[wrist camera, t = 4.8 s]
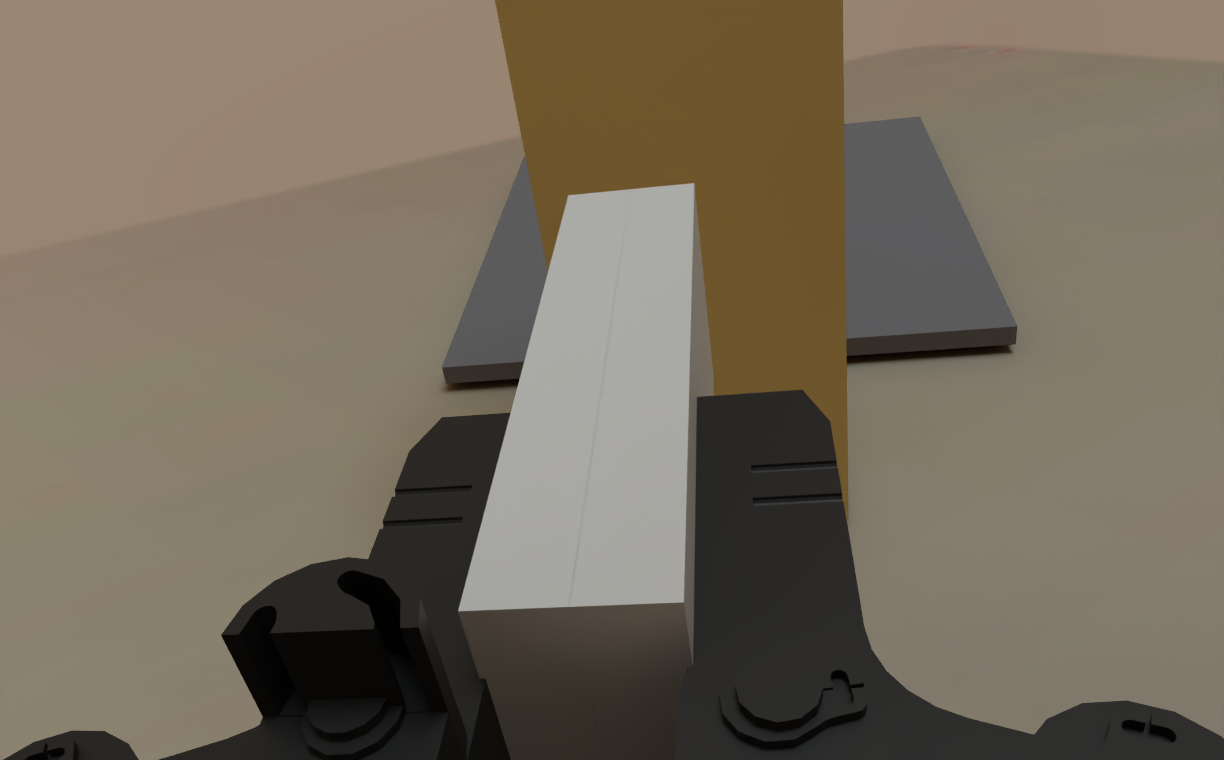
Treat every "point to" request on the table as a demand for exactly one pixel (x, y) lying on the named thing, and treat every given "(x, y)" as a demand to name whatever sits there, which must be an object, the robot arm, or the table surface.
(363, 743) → the robot arm
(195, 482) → the table surface
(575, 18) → the ochre post
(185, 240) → the table surface
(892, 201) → the charcoal mat
